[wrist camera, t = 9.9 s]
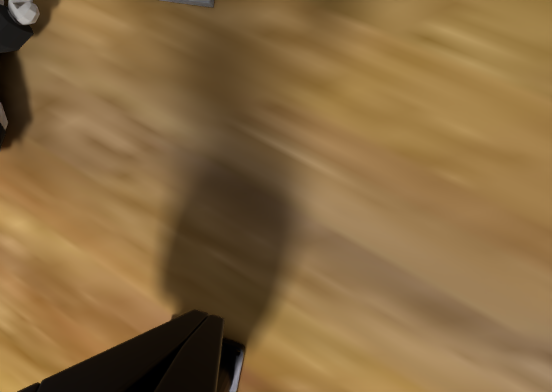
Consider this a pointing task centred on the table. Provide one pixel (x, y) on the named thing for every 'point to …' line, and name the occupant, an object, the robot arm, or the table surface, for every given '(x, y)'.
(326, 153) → the table surface
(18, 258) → the table surface
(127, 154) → the table surface
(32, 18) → the robot toy
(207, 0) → the scale strip
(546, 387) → the table surface
